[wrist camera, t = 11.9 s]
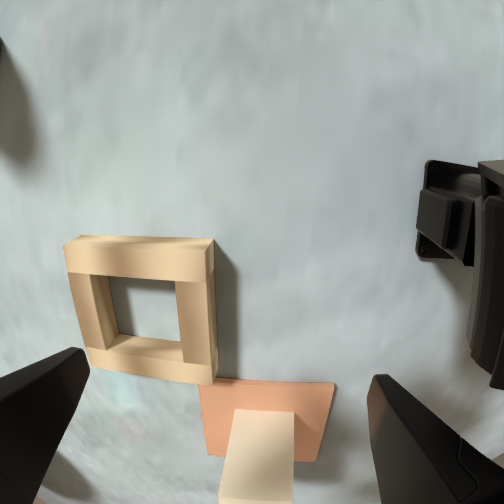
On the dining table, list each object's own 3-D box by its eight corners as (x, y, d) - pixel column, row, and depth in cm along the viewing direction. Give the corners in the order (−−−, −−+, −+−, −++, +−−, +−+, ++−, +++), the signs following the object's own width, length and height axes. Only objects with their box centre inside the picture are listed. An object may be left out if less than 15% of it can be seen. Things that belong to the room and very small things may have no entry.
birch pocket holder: (213, 239, 21) (204, 251, 19) (218, 365, 25) (212, 386, 22) (81, 235, 22) (62, 245, 20) (103, 349, 25) (91, 365, 23)
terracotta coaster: (333, 383, 24) (334, 387, 24) (315, 457, 28) (315, 461, 27) (199, 375, 25) (197, 380, 25) (208, 450, 29) (207, 454, 28)
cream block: (294, 412, 25) (293, 501, 16) (289, 445, 27) (286, 525, 18) (235, 408, 25) (217, 496, 17) (236, 442, 27) (222, 520, 18)
